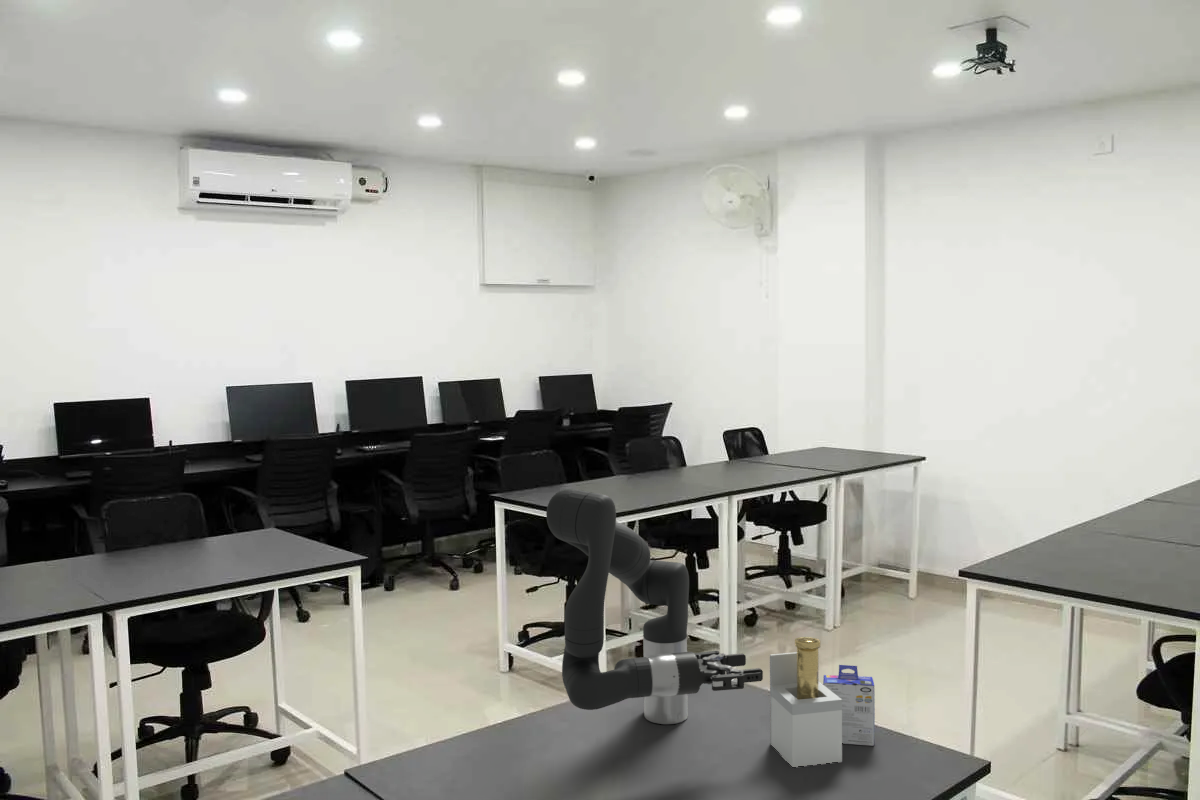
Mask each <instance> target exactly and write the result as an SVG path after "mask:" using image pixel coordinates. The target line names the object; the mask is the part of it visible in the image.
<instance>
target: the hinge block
mask: <svg viewBox="0 0 1200 800" xmlns="http://www.w3.org/2000/svg"><path fill="white" fill-rule="evenodd" d="M769 731H770V732H769V742H770V743H769V744H771V745H772V746H773V747H774V748H775V749H776V750H777V751H778V752H779V753H780V754H781V755H782V756H781V755H780V754H779V753H778V752H777V751H776V750H775V749H774V748H773V747H772V746H771V745H770V746H771V747H772V748H773V749H774V750H775V751H776V752H777V753H778V754H779V755H780V756H781V757H782V758H783V760H785V762H786V761H787V762H788V763H789V764H790V765H791V766H792V767H796V768H799V767H798V766H804V767H808V766H807V765H813V766H818V765H817V764H821V765H827V764H826V763H830V764H833V763H832V762H838V763H843V744H842V699H841V698H839V697H838V696H837V695H836V694H834V693H833V692H832V691H830V690H829V689H828V688H827V687H825V686H824V685H823V683H822V682H821V681H819V677H818V698H810V699H800V700H798V699H797V651H794V652H786V653H785V652H784V653H783V652H782V653H773V654H769ZM787 762H786V763H787ZM788 763H787V764H788ZM789 764H788V765H789ZM790 765H789V766H790ZM791 766H790V767H791ZM792 767H791V768H792Z"/></svg>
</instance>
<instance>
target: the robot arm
mask: <svg viewBox="0 0 1200 800" xmlns="http://www.w3.org/2000/svg"><path fill="white" fill-rule="evenodd" d="M545 514H546V522H547V526H548V529H549V530H550V532H551V533H552V534H553V536H554V537H555V538H557V539H558V540H560V541H563V542H565V543H567V544H568V545H571V546H574V548H577V549H579V550H580V551H581V552H583V553H584V554H585V555H586V556H588V561H587V566H586V568H585V571H584V573H583V575H582V576H581V578H580V579H579V581H578V583H577V584H576V586H575V587H574V588H573V590H572V592H571V594H570V595H569V597H568V599H567V602H566V605H565V609H564V610H565V612H564V644H565V646H564V649H563V656H562V662H561V663H562V665H561V674H562V675H561V678H562V682H563V685H564V688H565V690H566V693H567V697H568V699H569V701H570V703H571V704H573V706H575V707H576V708H578V709H580V710H587V711H593V710H595V711H596V710H599V709H603V708H605V707H609V706H612V705H614V704H618V703H621V702H622V701H625V700H627V699H636V698H637V699H638V698H643V709H644V710H643V711H644V713H643V715H644V718H645V720H646V721H649V722H651V723H653V724H659V725H660V724H661V725H674V724H679V723H682V722H684V721H686V720H687V719H688V717H689V716H688V715H689V714H688V695H690V694H691V695H694V694H698V692H699V691H700V689H701V686H702V685H703V684H707V685H710V686H711V690H712V691H713V692H716V691H717V692H718V691H719V692H720V691H731V690H742V689H745V683H755V682H756V683H757V682H762V681H763V677H764V671H763V669H761V668H760V667H757V668H747V669H738V668H736V667H744V666H746V660H747V659H746V656H747V655H745V653H743V652H742V653H734V654H733V653H732V654H726V653H724V652H723V653H720V650H710V651H701V652H693V651H688V644H687V643H688V640H687V639H688V638H687V637H688V632H687V631H688V621H689V620H688V619H689V596H690V595H689V593H690V575H689V571H688V568H687V566H686V565H685V564H684V563H681V562H674V561H666V560H665V561H664V560H655V559H654V560H653V559H651V557H652V555H651V549H650V547H649V545H648V544H647V542H646V541H645V539H644V538H643V537H641V535H639V534H638V533H637V531H635V530H633V529H632V528H630V527H629V526H627V525H625V524H622V523H620V522H617V509H616V505H615V502H614V500H613V499H612V498H611V497H610V496H608V495H607V494H603V493H599V492H593V491H588V490H582V489H581V490H580V489H576V488H568V489H567V488H566V489H561V490H559V491H558V492H556V493H555V494H553V496H552V497H551V499H549V502H548V504H547V507H546V513H545ZM609 574H610V575H611V576H613V577H614V578H616V579H618V580H619V581H620V582H621V583H623V584H625V586H627V588H628V589H629V591H631V592H632V594H633V595H634V596H635V597H636V598H637V599H638V600H639V601H641V602H643V603H645V604H648V605H654V606H664V607H667V610H666V611H667V612H666V614H664V615H661V616H659V617H658V616H657V617H653V618H651V619H648V620H647V621H645V622H644V624H643V628H642V635H643V636H642V639H643V641H642V643H643V644H642V645H643V646H642V647H643V648H642V649H643V657H641V656H640V657H632V658H631V657H630V658H624V659H621V660H618V661H617V662H616V663H615V664H614V669H612V670H608V671H604V672H602V671H601V669H600V663H599V659H600V658H599V657H600V656H599V655H600V653H601V652H602V650H603V646H604V637H605V634H604V633H605V627H604V626H605V600H606V599H605V598H606V591H607V585H608V578H609ZM734 667H735V668H734Z"/></svg>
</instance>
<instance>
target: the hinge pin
mask: <svg viewBox="0 0 1200 800" xmlns="http://www.w3.org/2000/svg"><path fill="white" fill-rule="evenodd" d="M794 647H795V648H796V652H797V699H798V700H800V699H810V698H818V678H819V649H820V648H821V640H820V639H819V638H815V637H810V636H801V637H796V638H794Z"/></svg>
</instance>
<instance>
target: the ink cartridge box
mask: <svg viewBox="0 0 1200 800" xmlns="http://www.w3.org/2000/svg"><path fill="white" fill-rule="evenodd" d="M843 670H851V671H854V673H853V672H843ZM822 682H823V683H822V684H823V685H824V686H825V687H827V688H828V689H829V690H830V691H832V692H833V693H834V694H836V695H837V696H838V697H839V698H841V699H842V743H843V744H845V745H857V746H869V747H870V746H875V718H876V717H875V716H876V715H875V714H876V713H875V710H876V709H875V705H876V704H875V703H876V699H875V682H874V678H873V676H863V675H862V676H860V675H859V672H858V665H848V664H839V665H838V675H832V674H830V675H829V674H823V681H822ZM843 744H842V745H843Z"/></svg>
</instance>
